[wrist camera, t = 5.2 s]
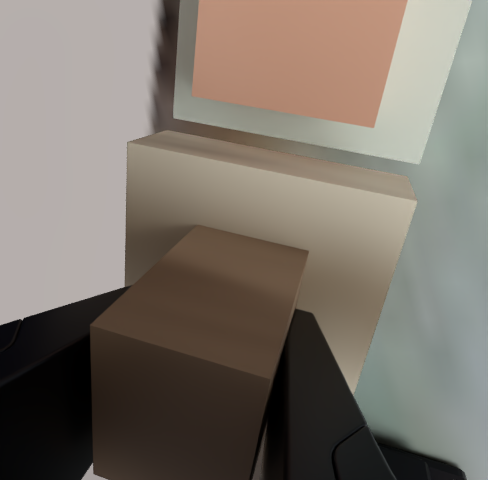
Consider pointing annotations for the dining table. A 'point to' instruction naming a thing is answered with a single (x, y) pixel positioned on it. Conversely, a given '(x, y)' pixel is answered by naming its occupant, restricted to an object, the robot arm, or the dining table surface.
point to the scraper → (231, 297)
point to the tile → (298, 55)
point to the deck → (336, 133)
